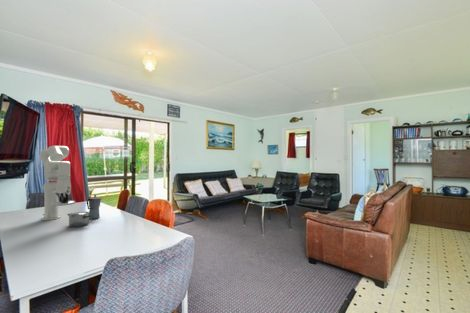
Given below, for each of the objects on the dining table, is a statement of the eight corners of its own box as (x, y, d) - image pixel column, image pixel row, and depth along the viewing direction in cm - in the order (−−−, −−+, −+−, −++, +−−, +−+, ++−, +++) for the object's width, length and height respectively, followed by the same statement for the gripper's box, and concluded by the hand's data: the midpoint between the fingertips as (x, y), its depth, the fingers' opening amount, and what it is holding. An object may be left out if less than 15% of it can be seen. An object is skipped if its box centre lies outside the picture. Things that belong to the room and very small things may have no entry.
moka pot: (104, 216, 207) (104, 193, 207) (92, 220, 191) (92, 196, 191) (94, 215, 208) (95, 193, 208) (81, 220, 192) (82, 196, 192)
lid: (47, 205, 170) (47, 196, 170) (67, 201, 183) (67, 193, 183) (60, 206, 165) (60, 197, 165) (79, 202, 178) (79, 194, 178)
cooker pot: (61, 226, 176) (61, 214, 176) (77, 221, 189) (77, 210, 189) (81, 228, 170) (81, 216, 170) (96, 224, 182) (96, 212, 182)
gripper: (51, 177, 173) (51, 202, 173) (66, 178, 167) (66, 203, 167) (62, 177, 180) (61, 200, 180) (76, 177, 174) (76, 201, 174)
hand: (63, 201), depth 174 cm, fingers closed on lid, 3 cm apart
